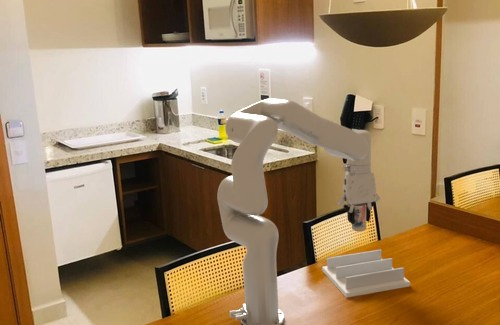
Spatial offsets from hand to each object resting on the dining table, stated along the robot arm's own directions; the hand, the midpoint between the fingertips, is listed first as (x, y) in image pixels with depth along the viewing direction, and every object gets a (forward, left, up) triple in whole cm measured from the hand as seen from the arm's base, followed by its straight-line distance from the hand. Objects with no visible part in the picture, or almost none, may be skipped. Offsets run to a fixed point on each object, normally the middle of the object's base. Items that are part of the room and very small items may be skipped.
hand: (359, 221), depth 172 cm
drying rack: (0, -4, -19) cm, 19 cm away
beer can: (0, 0, -3) cm, 3 cm away
